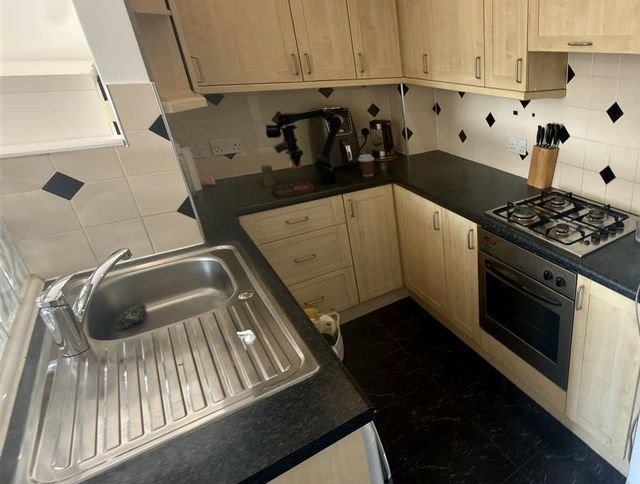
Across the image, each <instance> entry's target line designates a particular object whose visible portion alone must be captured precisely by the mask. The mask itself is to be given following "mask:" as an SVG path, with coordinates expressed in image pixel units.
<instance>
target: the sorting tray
mask: <svg viewBox="0 0 640 484" xmlns="http://www.w3.org/2000/svg"><path fill="white" fill-rule="evenodd" d="M271 191H272V193H273V194H274V195H275V196H276V198H277V199H281V198H286V197H291V196H295V195H301V194H306V193H311V192H314V191H316V189H315V186H314V185H312V184H311V183H310V182H309V181H308V180H306V181H301V182H295V183H290V184H285V185H278V186H272V187H271Z"/></svg>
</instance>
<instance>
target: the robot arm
mask: <svg viewBox="0 0 640 484" xmlns="http://www.w3.org/2000/svg"><path fill="white" fill-rule="evenodd" d="M319 117H320V118H322V119H323V120H325V121H326V122H328V123H329V130H328V134H327V138H326V140H325V144H324V147H323V150H322V153H321V154H320V153H319V154H318V155H317V156H316V161H315V162H314V164H315V168H316V169H317V170H318V171H319V172H320V179H321V183H323V184H324V185H330V184H336V183H337V182H338V180H336V174H335V171H334V168H335V167H334V165H333V164H331V163H330V160H331V159H330V157H331V156H330V155H331V153H332V149H333V147H334V143H335V140H336V137H337V134H338V132H339V130H340V129H341V128H342V125H343V124H344V118H343V116H342V115H339V114H335V113H333V112H332V111H329V110H327V109H325V108H323V107H320V108H315V109H310V110H306V111H305V110H304V111H300V112H283V113H281V114H280V115H279V116H278V119H277V120H278V121H277V123H276V124H266V125H265V127H266V128H265V136H266V137H267V138H268V139H276V138H277V139H278V138H282V136H283V139H282V142H280V143H278V144H275V145H274V146H273V149H274V150H275V152H276V153H277V154H280V153H282V152H284V153H285V154H286V155H288V156H289V158H293V160H294V163H295V165H296V166H298V165H299V162H300V159H301V158H302V156H303V155H304V151H303V150H302V149H301V148H300V147H299V145H298V138H297V136H296V132H295V130H297V129H298V128H299V126H297V125H295V123H297V122H299V121H303V120H308V119H313V118H314V119H315V118H319Z"/></svg>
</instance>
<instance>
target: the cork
mask: <svg viewBox="0 0 640 484" xmlns="http://www.w3.org/2000/svg"><path fill="white" fill-rule="evenodd" d="M260 171H261V172H262V175H263V176H262V177H263V186H264V187H274V186H276V185H277V182H276V179H275V177H274V174H273V172H272V171H273V167H272V166H271V165H270V164H264V165H261V167H260Z"/></svg>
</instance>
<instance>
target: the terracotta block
mask: <svg viewBox="0 0 640 484" xmlns="http://www.w3.org/2000/svg"><path fill="white" fill-rule="evenodd" d="M288 164H289V167H290V168H291V169H292V170H293V169H300V168H303V164H302V159H301V158H300V162H299V165H298V166H296V165H295V163H294V160H293V158H290V157H288Z"/></svg>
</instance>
